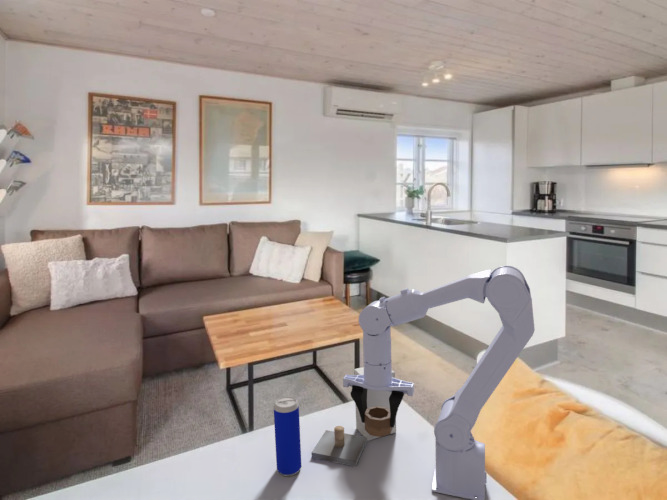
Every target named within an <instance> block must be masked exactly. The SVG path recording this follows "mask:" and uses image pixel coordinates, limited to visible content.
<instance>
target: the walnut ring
mask: <svg viewBox="0 0 667 500" xmlns="http://www.w3.org/2000/svg"><path fill="white" fill-rule="evenodd" d="M364 414H365V430H366V432H367V433H368V434H369V435H372V436H377V437H379V438H383V437H387V436H390V435H391V434H390V433H391V431H392V427H390V410H389V409H388V408H387V407H381V406H373V407H370V408H367V410H366V412H365V413H364Z"/></svg>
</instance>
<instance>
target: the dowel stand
mask: <svg viewBox="0 0 667 500" xmlns="http://www.w3.org/2000/svg"><path fill="white" fill-rule="evenodd" d="M367 442H368V441H367V440H366V437H364V436H363V435H357V434H356V435H355V434H351V433H350V434H349V433H345V427H344V426H343V425H337V426H335V427H334V429H333V430H327V429H326V430H325V431H324V432H323V434H322V436H321V437H320V439H319V441H318V442H317V443H316V445H315V446H314V448H313V449H312V451H311V458H313V459H318V460H322V461H327V462H333V463H338V464H343V465H347V466H352V467H356V466H357V463H358V462H359V460H360V457H361V456H362V452H364V451H363V450H364V448H365V447H366V444H367Z"/></svg>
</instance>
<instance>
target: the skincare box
mask: <svg viewBox="0 0 667 500" xmlns="http://www.w3.org/2000/svg"><path fill="white" fill-rule="evenodd" d="M353 375H364V366H363V367H362V366H361V367H358V368H354V369H353ZM392 378H396V371H394V370H393V369H392ZM391 393H392V392H389V391H373V390H369V389H367V408H370V407H373V406H381V407H387V408H388V409H389V410H390V404H389V397H390V395H391ZM354 405H355V406H354V407H355V427H356V429H357V431H358V432H360V435H361V436H363V437H366V441H367V442H368V441H373V440H375V439H378V438H380V437H377V436H372V435H369V434H368V433H367V432H366V430H365V423H362V421H361V417H360V413H359V410H358V408H357V406H356V404H354ZM395 433H397V421H396V422H395V425H394V427H392V431H391V433H390V434H389V435H392V434H395Z"/></svg>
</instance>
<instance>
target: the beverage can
mask: <svg viewBox="0 0 667 500" xmlns="http://www.w3.org/2000/svg"><path fill="white" fill-rule="evenodd" d="M273 418H274V419H273V420H274V422H273V423H274V424H273V425H274V439H275V443H274V444H275V456H276V457H275V460H276V470H277V472H278V473H279V474H280V475H282V476H284V477H293V476H295V475H296V474H298V473H299V472H300V470H301V469H302V451H301V450H302V449H301V446H302V445H301V428H300V427H301V426H300V405H299V402H298V399H297V398H296V397H294V396H289V395H287V396H281V397H279V398H277V399H276V400H275V401H274V404H273Z"/></svg>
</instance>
